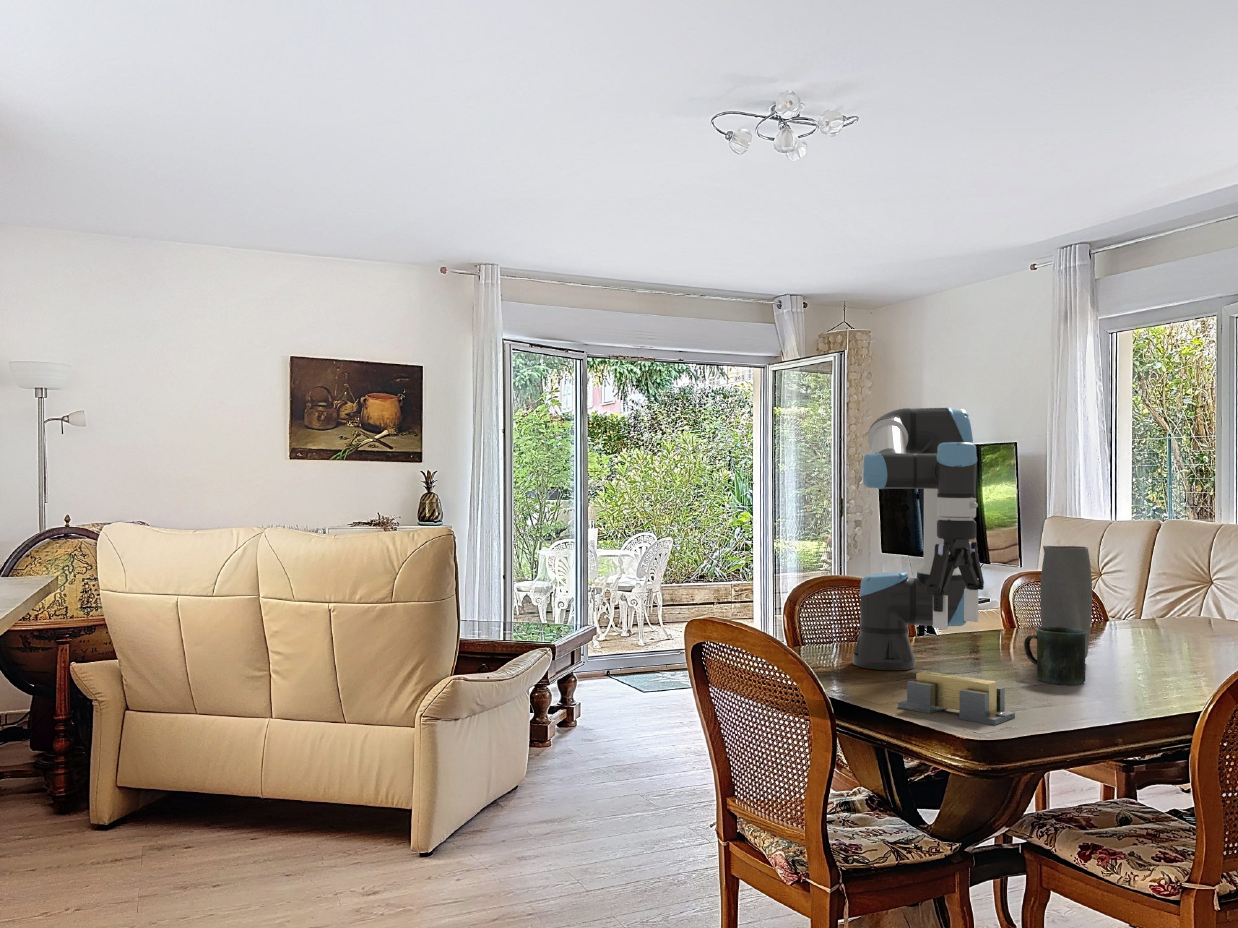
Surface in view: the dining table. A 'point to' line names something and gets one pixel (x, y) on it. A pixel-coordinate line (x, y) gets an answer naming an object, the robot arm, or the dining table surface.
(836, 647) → the dining table surface
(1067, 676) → the mug
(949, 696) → the wooden beam block
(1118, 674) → the dining table surface
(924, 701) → the grey slotted bracket
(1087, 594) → the vase
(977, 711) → the grey beam support bracket
